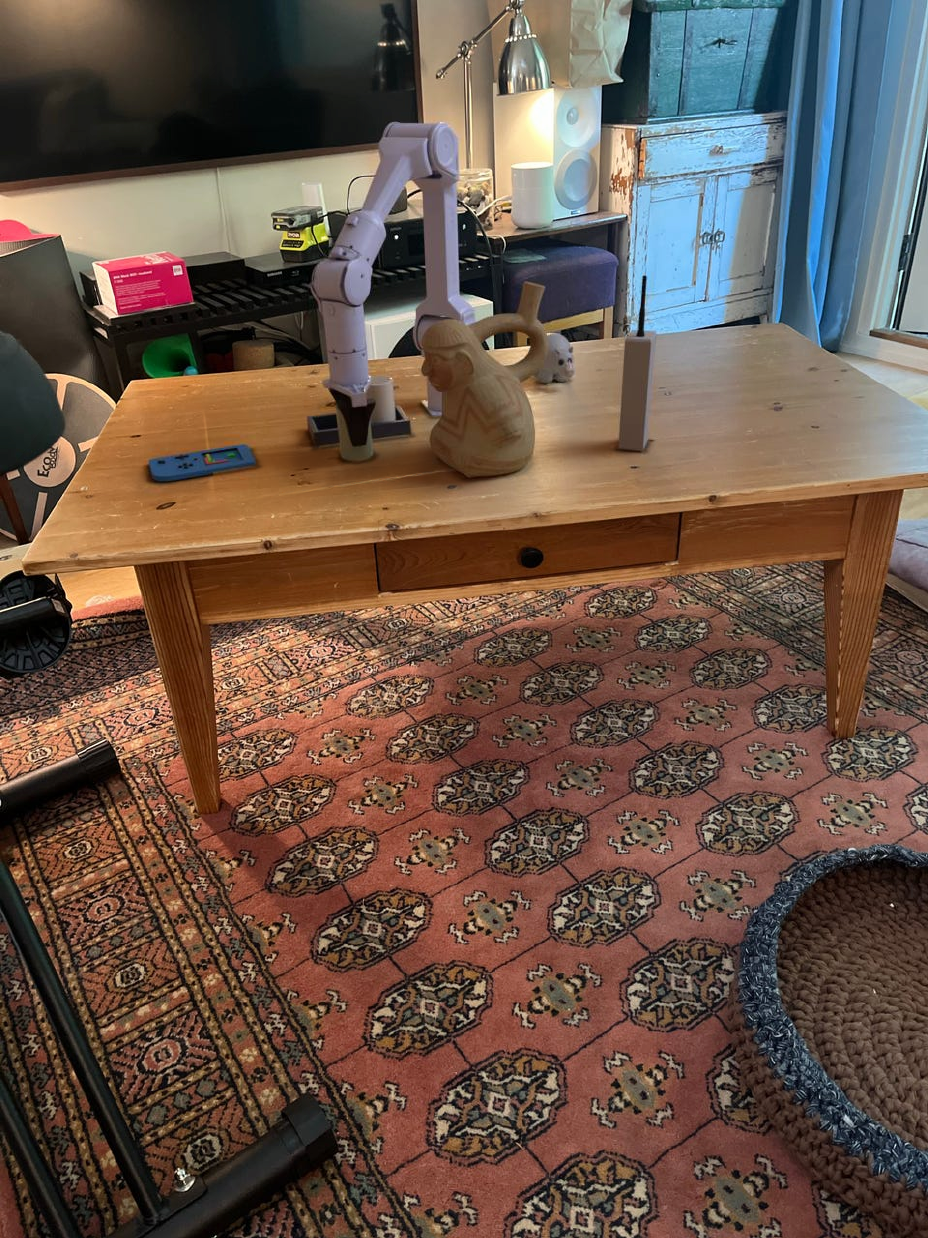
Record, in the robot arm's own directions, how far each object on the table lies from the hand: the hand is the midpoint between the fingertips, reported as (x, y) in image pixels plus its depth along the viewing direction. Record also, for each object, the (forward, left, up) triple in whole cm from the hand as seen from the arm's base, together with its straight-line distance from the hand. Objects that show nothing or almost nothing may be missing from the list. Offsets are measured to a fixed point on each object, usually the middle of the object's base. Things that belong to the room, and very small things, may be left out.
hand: (355, 438), depth 137 cm
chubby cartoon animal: (-41, -23, -3) cm, 47 cm away
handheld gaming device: (+23, -5, -3) cm, 24 cm away
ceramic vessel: (-18, +9, -3) cm, 21 cm away
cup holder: (-2, -10, -3) cm, 10 cm away
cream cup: (-6, -10, -2) cm, 11 cm away
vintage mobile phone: (-41, +10, -3) cm, 42 cm away
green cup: (0, 0, -3) cm, 3 cm away
